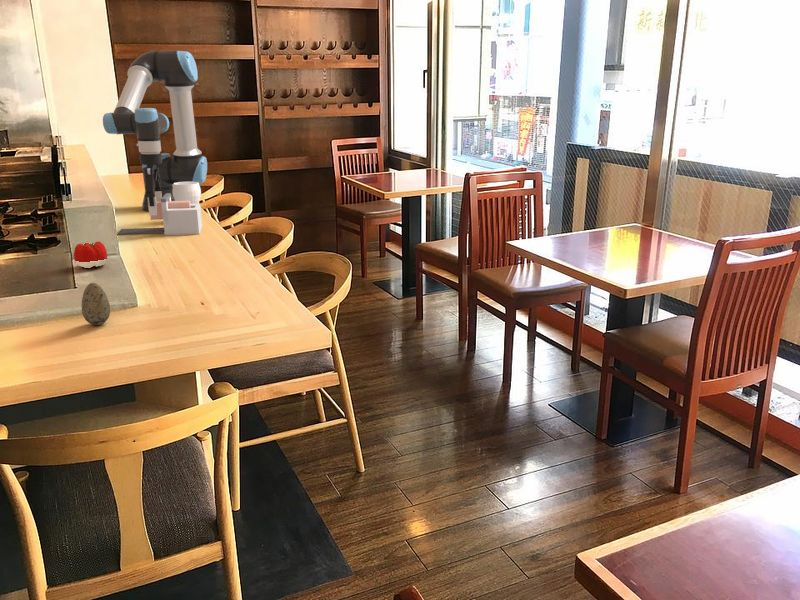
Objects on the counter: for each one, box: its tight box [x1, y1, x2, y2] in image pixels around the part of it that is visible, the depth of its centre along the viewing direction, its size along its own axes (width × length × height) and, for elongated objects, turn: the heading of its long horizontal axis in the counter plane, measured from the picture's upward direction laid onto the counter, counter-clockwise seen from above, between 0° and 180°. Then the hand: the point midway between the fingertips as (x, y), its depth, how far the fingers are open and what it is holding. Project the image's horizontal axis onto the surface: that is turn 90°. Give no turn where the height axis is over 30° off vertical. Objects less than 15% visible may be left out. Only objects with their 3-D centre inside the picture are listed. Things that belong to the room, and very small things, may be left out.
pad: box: [117, 226, 165, 236], centre depth 250 cm, size 8×16×1 cm, turn 101°
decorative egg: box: [81, 282, 111, 326], centre depth 155 cm, size 6×6×10 cm
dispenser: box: [161, 193, 203, 236], centre depth 250 cm, size 13×12×13 cm
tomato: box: [73, 240, 108, 262], centre depth 202 cm, size 9×9×8 cm
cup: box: [172, 182, 202, 204], centre depth 267 cm, size 11×11×15 cm
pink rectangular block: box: [149, 201, 191, 221], centre depth 249 cm, size 4×14×6 cm, turn 101°
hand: (156, 212), depth 248 cm, fingers open, 13 cm apart
